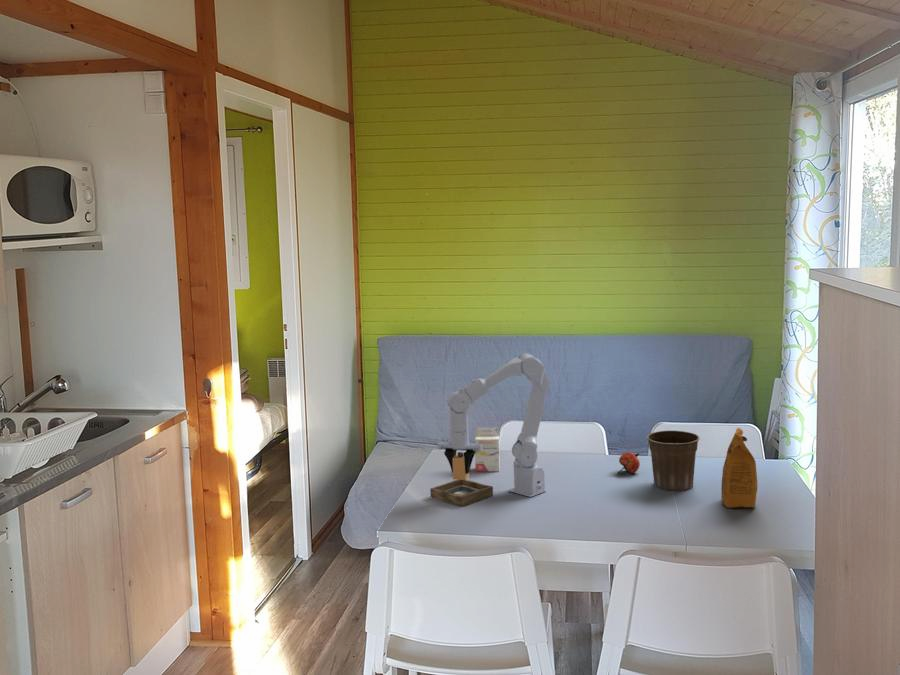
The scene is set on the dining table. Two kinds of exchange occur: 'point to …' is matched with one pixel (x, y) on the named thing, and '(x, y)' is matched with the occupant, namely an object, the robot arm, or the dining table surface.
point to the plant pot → (673, 459)
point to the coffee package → (739, 474)
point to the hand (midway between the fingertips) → (460, 472)
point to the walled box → (462, 492)
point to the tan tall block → (459, 467)
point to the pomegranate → (629, 462)
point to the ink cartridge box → (488, 450)
